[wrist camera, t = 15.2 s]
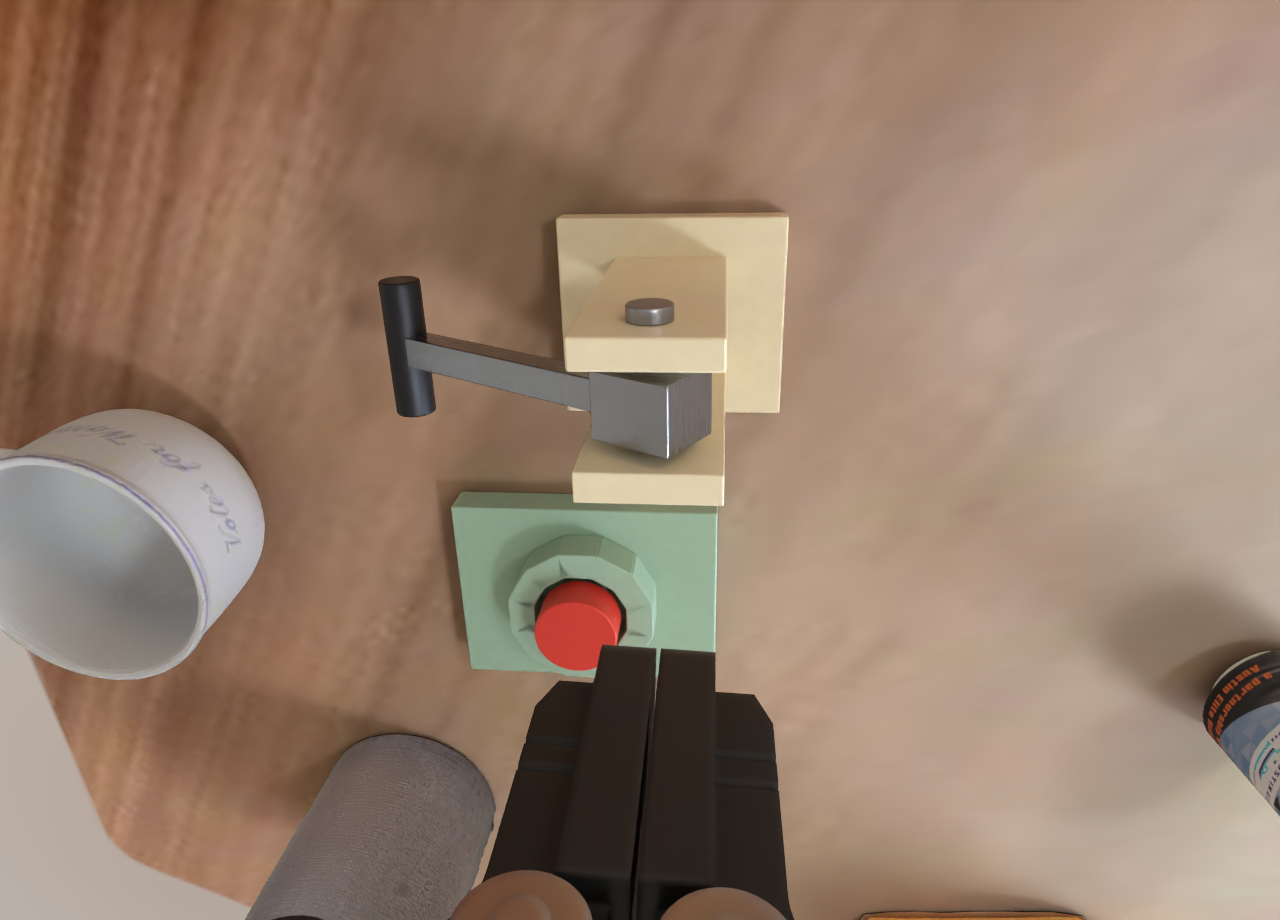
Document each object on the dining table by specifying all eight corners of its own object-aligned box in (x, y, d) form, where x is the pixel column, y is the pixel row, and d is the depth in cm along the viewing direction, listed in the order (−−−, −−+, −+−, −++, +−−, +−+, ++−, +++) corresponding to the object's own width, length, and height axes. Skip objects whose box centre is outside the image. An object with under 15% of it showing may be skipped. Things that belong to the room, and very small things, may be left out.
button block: (479, 648, 43) (460, 693, 40) (460, 490, 39) (437, 526, 36) (715, 658, 42) (714, 705, 39) (718, 496, 38) (717, 533, 35)
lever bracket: (571, 401, 37) (500, 545, 25) (560, 213, 34) (473, 281, 22) (777, 404, 36) (801, 554, 25) (787, 211, 33) (819, 280, 21)
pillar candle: (523, 842, 48) (443, 1139, 35) (377, 872, 51) (248, 1163, 37) (450, 713, 45) (329, 987, 31) (297, 751, 47) (122, 1023, 34)
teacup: (332, 477, 40) (243, 565, 33) (237, 624, 44) (140, 730, 37) (61, 298, 37) (-99, 350, 30) (-12, 471, 42) (-169, 553, 34)
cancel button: (544, 645, 39) (537, 669, 37) (539, 578, 37) (530, 600, 36) (622, 648, 38) (618, 673, 37) (620, 581, 37) (615, 603, 35)
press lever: (428, 398, 33) (379, 416, 32) (412, 271, 31) (358, 284, 30) (711, 475, 26) (667, 504, 24) (713, 317, 24) (666, 337, 22)
